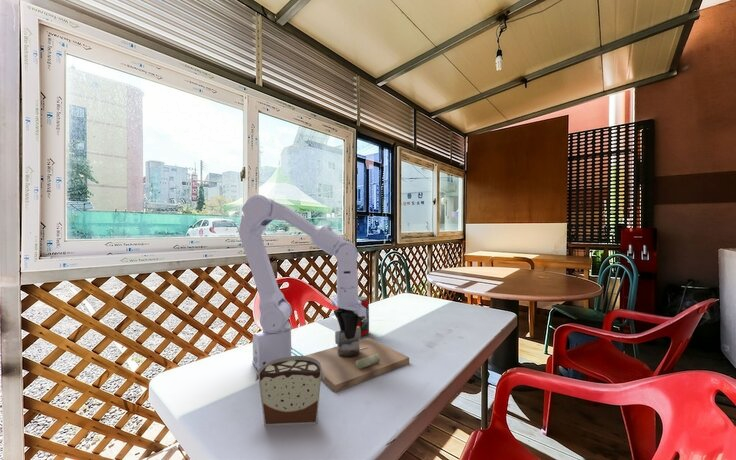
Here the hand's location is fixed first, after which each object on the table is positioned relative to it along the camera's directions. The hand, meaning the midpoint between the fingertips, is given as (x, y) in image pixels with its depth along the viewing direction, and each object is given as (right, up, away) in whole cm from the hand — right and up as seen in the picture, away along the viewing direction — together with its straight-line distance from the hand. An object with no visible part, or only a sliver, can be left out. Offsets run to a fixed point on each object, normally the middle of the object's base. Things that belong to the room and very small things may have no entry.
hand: (348, 336), depth 79 cm
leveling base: (+2, -6, -2) cm, 7 cm away
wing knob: (0, -4, 0) cm, 4 cm away
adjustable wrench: (-17, -7, +7) cm, 20 cm away
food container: (-9, -6, -23) cm, 26 cm away
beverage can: (+2, -6, +19) cm, 20 cm away
